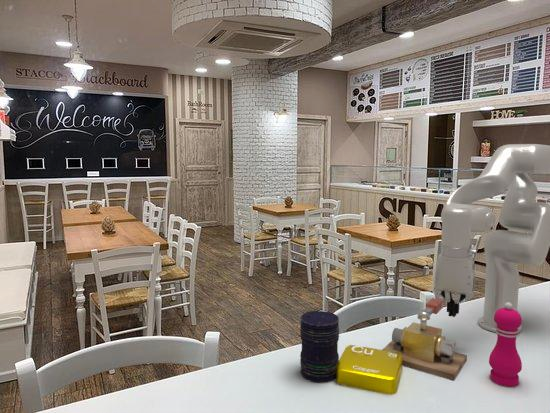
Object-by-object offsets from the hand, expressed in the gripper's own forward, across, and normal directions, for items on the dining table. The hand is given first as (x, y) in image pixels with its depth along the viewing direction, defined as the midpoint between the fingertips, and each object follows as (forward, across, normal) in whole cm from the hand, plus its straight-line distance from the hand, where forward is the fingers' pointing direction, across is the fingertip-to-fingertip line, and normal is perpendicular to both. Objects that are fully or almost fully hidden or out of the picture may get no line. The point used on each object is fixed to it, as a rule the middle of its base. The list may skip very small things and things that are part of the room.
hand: (452, 315), depth 122 cm
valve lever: (-1, +5, +4) cm, 7 cm away
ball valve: (+9, +5, +10) cm, 14 cm away
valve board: (+11, +5, +10) cm, 15 cm away
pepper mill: (+11, -15, +10) cm, 21 cm away
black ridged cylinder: (+11, +25, +32) cm, 42 cm away
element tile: (+11, +14, +25) cm, 31 cm away
